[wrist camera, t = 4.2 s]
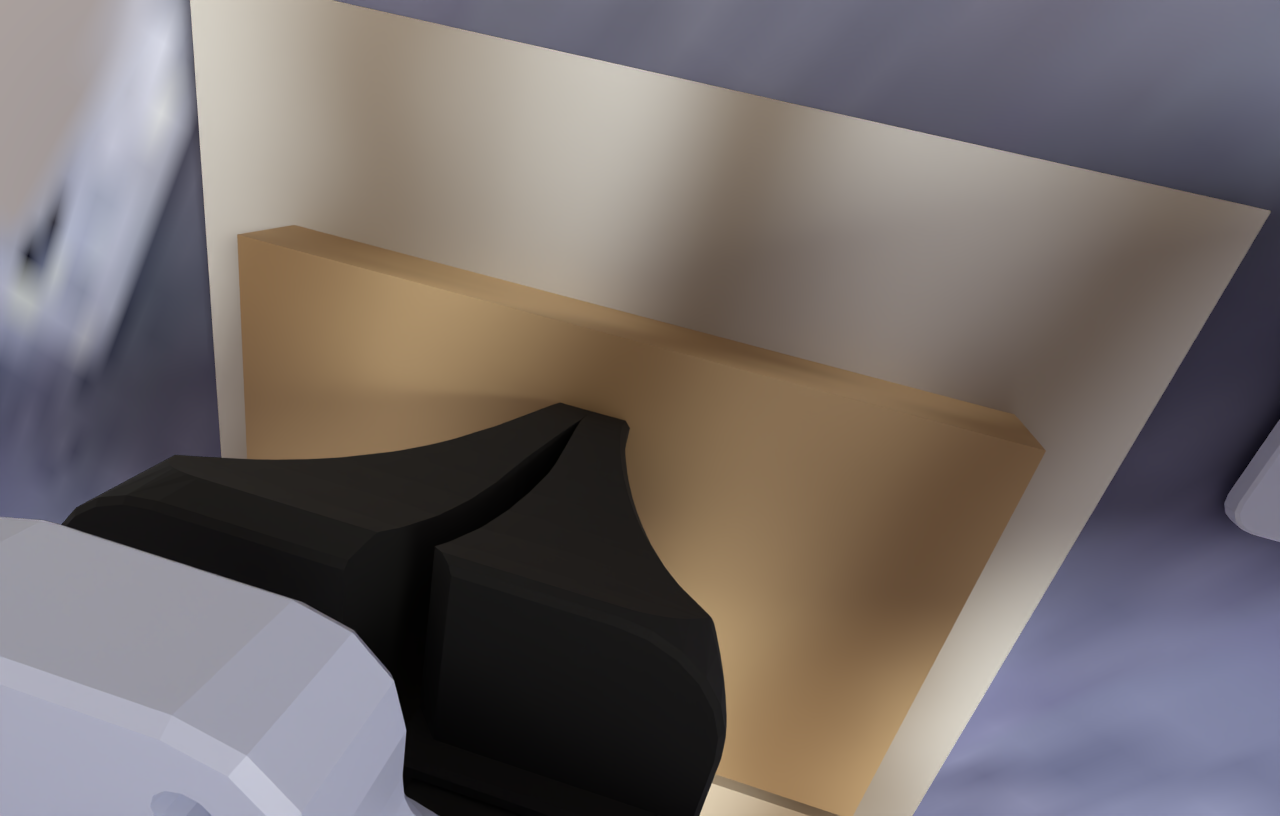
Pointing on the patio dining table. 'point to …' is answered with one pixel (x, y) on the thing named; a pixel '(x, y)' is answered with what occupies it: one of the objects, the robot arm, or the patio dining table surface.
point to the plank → (672, 473)
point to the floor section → (731, 256)
